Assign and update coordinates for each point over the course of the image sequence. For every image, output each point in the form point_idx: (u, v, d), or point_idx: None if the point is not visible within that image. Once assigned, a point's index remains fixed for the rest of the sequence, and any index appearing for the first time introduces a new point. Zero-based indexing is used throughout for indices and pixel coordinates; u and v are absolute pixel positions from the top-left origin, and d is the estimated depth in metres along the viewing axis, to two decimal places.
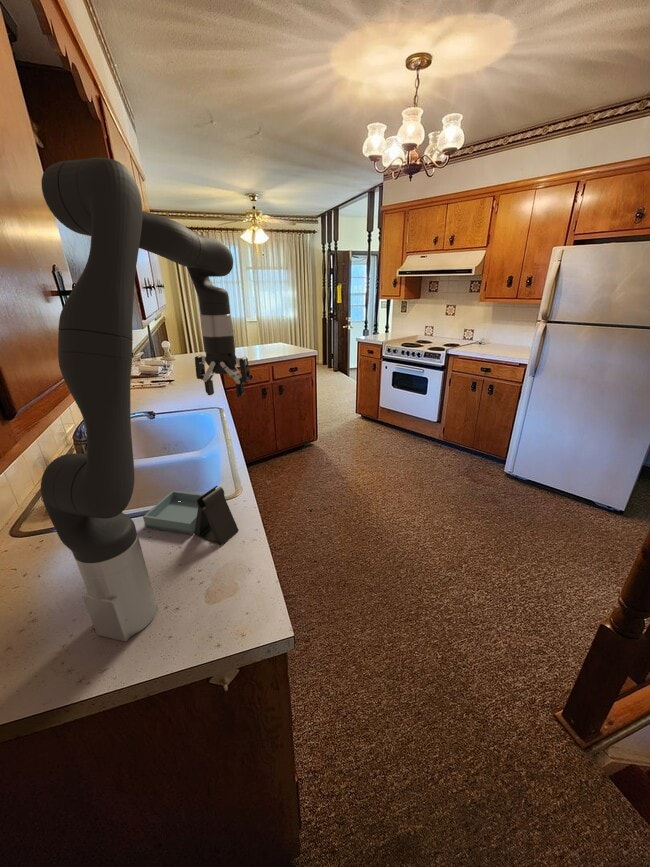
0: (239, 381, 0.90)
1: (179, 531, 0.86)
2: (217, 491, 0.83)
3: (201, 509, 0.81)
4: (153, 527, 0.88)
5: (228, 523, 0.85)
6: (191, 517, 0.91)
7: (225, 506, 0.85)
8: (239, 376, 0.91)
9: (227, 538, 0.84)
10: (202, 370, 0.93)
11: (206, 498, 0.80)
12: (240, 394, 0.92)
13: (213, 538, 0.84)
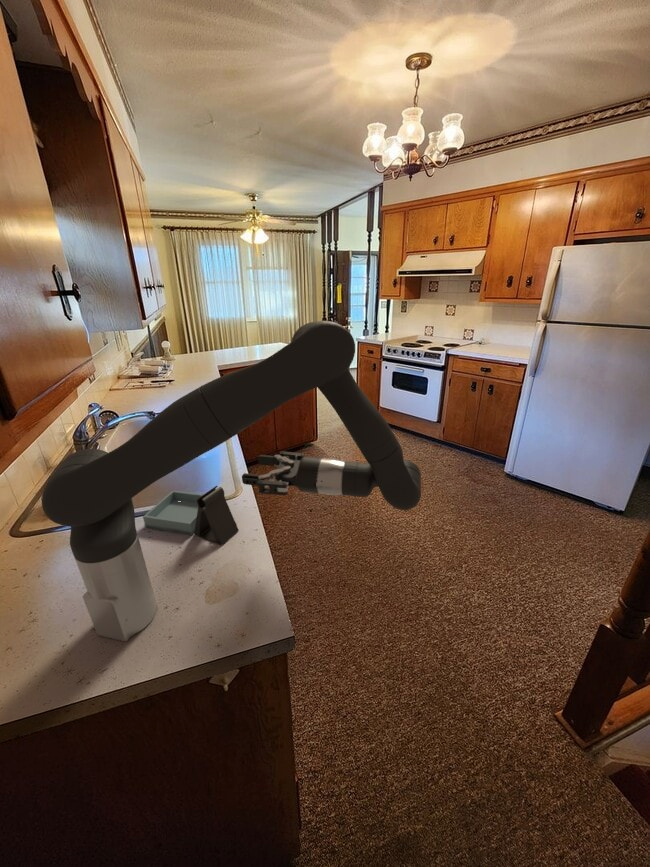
0: (260, 477, 0.71)
1: (179, 531, 0.86)
2: (217, 491, 0.83)
3: (201, 509, 0.81)
4: (153, 527, 0.88)
5: (228, 523, 0.85)
6: (191, 517, 0.91)
7: (225, 506, 0.85)
8: None
9: (227, 538, 0.84)
10: None
11: (206, 498, 0.80)
12: (245, 477, 0.72)
13: (213, 538, 0.84)
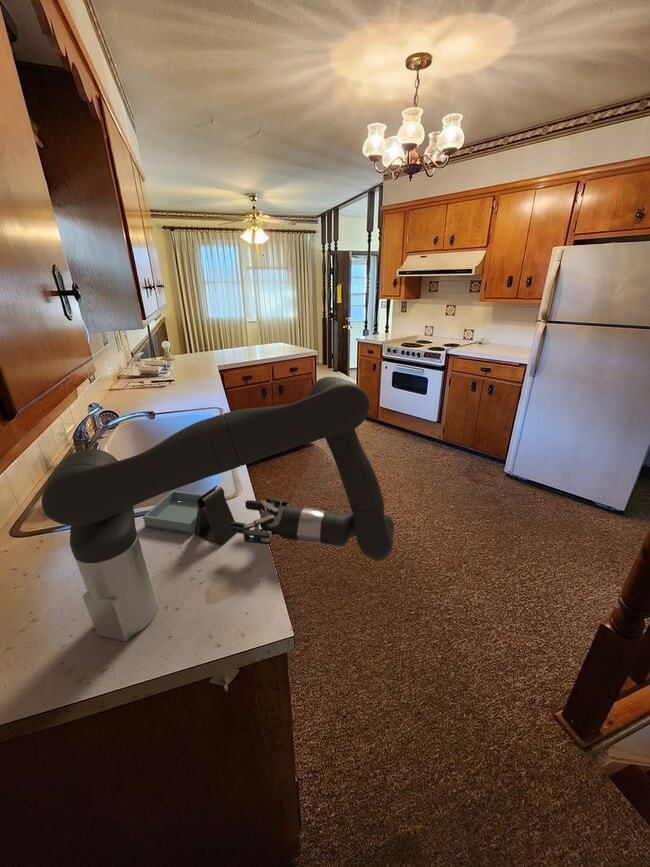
0: (246, 527, 0.77)
1: (179, 531, 0.86)
2: (217, 491, 0.83)
3: (201, 509, 0.81)
4: (153, 527, 0.88)
5: (228, 523, 0.85)
6: (191, 517, 0.91)
7: (225, 506, 0.85)
8: None
9: (227, 538, 0.84)
10: (273, 505, 0.87)
11: (206, 498, 0.80)
12: (232, 525, 0.78)
13: (213, 538, 0.84)
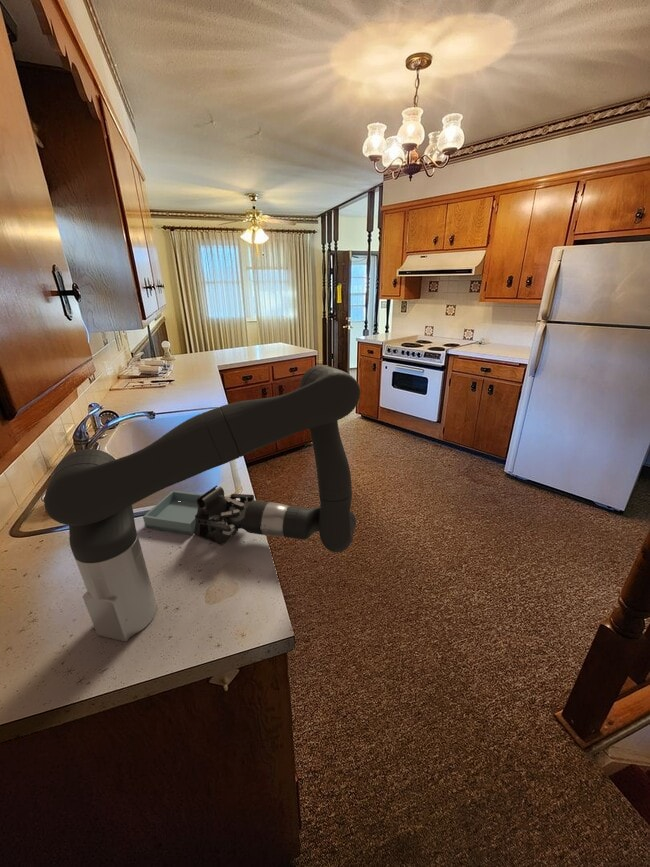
0: (211, 518, 0.79)
1: (179, 531, 0.86)
2: (217, 491, 0.83)
3: (201, 509, 0.81)
4: (153, 527, 0.88)
5: None
6: (191, 517, 0.91)
7: (225, 505, 0.85)
8: None
9: (227, 538, 0.84)
10: (238, 502, 0.89)
11: (206, 498, 0.80)
12: (197, 517, 0.81)
13: (213, 538, 0.84)
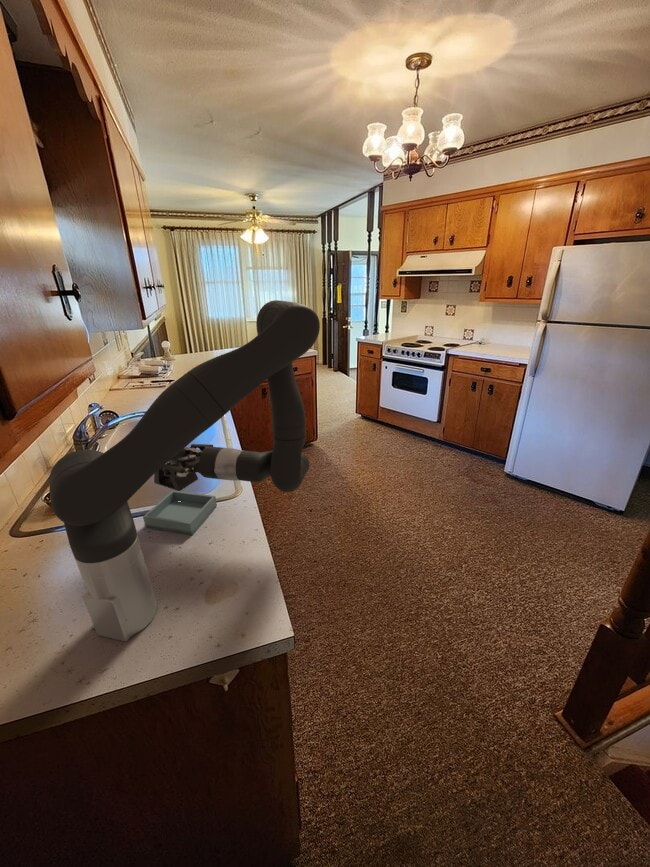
0: (167, 462, 0.81)
1: (179, 531, 0.86)
2: None
3: None
4: (153, 527, 0.88)
5: None
6: (191, 517, 0.91)
7: (183, 453, 0.86)
8: None
9: (185, 484, 0.86)
10: None
11: None
12: None
13: (172, 485, 0.86)
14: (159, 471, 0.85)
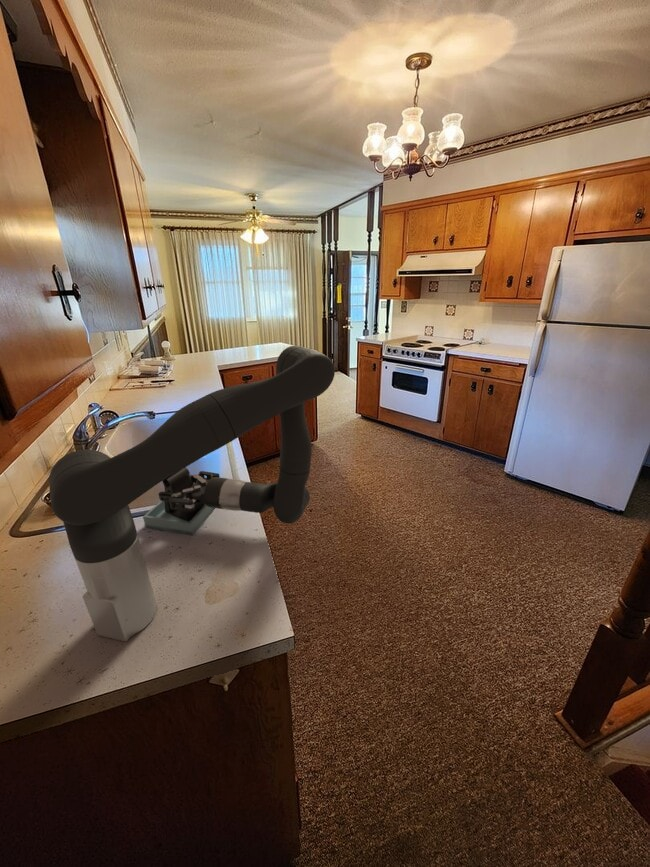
0: (173, 495, 0.84)
1: (179, 531, 0.86)
2: (182, 471, 0.89)
3: (167, 488, 0.87)
4: (153, 527, 0.88)
5: None
6: None
7: (191, 485, 0.91)
8: None
9: (194, 514, 0.91)
10: (206, 479, 0.94)
11: (170, 478, 0.86)
12: (161, 494, 0.85)
13: (181, 515, 0.91)
14: None
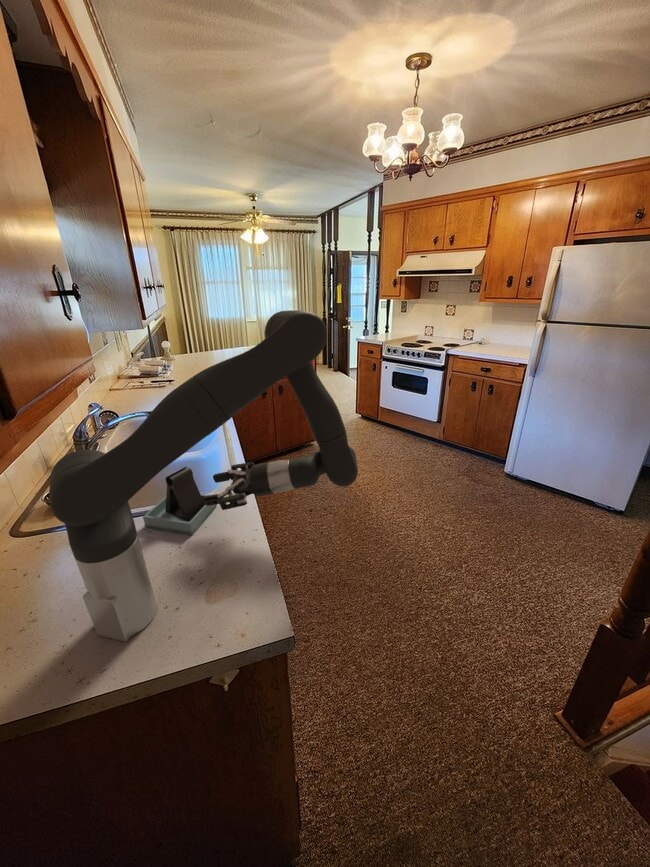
0: (219, 496, 0.79)
1: (179, 531, 0.86)
2: (185, 471, 0.89)
3: (169, 487, 0.88)
4: (153, 527, 0.88)
5: (196, 501, 0.91)
6: None
7: (193, 485, 0.91)
8: None
9: (194, 515, 0.91)
10: (240, 471, 0.90)
11: (174, 477, 0.87)
12: (205, 499, 0.80)
13: (182, 515, 0.91)
14: (170, 502, 0.91)
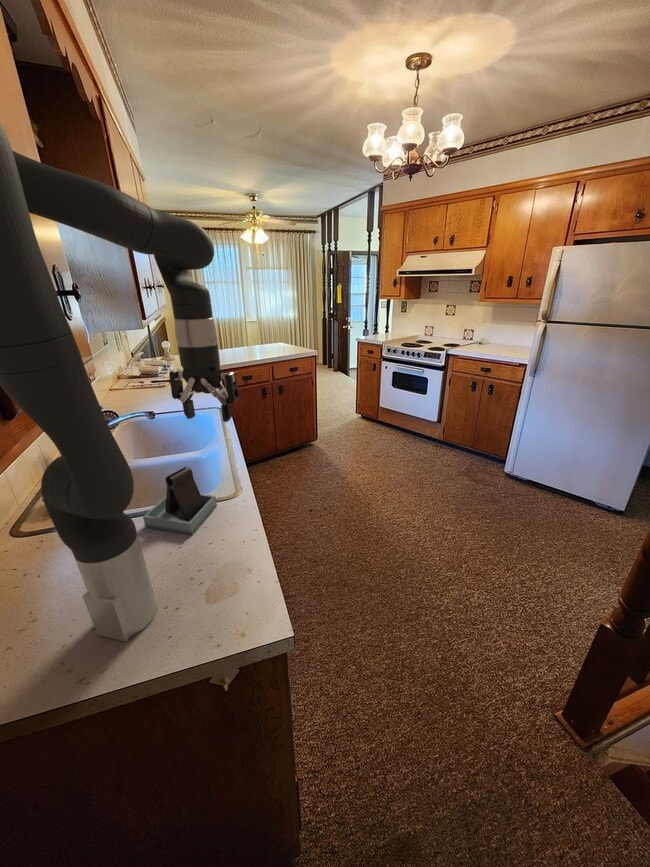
0: (225, 402, 0.71)
1: (179, 531, 0.86)
2: (185, 471, 0.89)
3: (169, 487, 0.88)
4: (153, 527, 0.88)
5: (196, 501, 0.91)
6: None
7: (193, 485, 0.91)
8: (225, 395, 0.73)
9: (194, 515, 0.91)
10: (179, 387, 0.75)
11: (174, 477, 0.87)
12: (227, 418, 0.73)
13: (182, 515, 0.91)
14: (170, 502, 0.91)
